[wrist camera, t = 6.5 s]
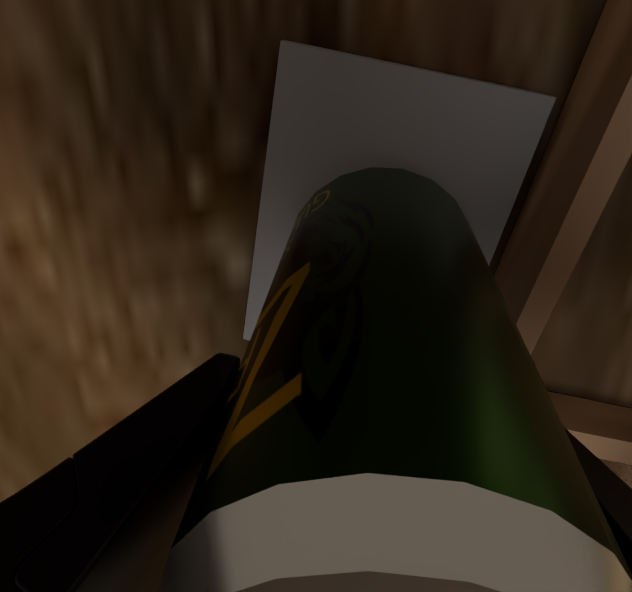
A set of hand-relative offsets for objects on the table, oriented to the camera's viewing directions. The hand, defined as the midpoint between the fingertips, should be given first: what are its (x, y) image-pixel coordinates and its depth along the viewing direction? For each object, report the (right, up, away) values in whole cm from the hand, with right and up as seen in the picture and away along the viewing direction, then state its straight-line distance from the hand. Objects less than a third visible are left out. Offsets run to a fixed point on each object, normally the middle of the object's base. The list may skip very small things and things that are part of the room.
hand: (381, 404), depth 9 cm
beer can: (+1, +4, +6) cm, 7 cm away
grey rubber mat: (+1, +4, +7) cm, 8 cm away
